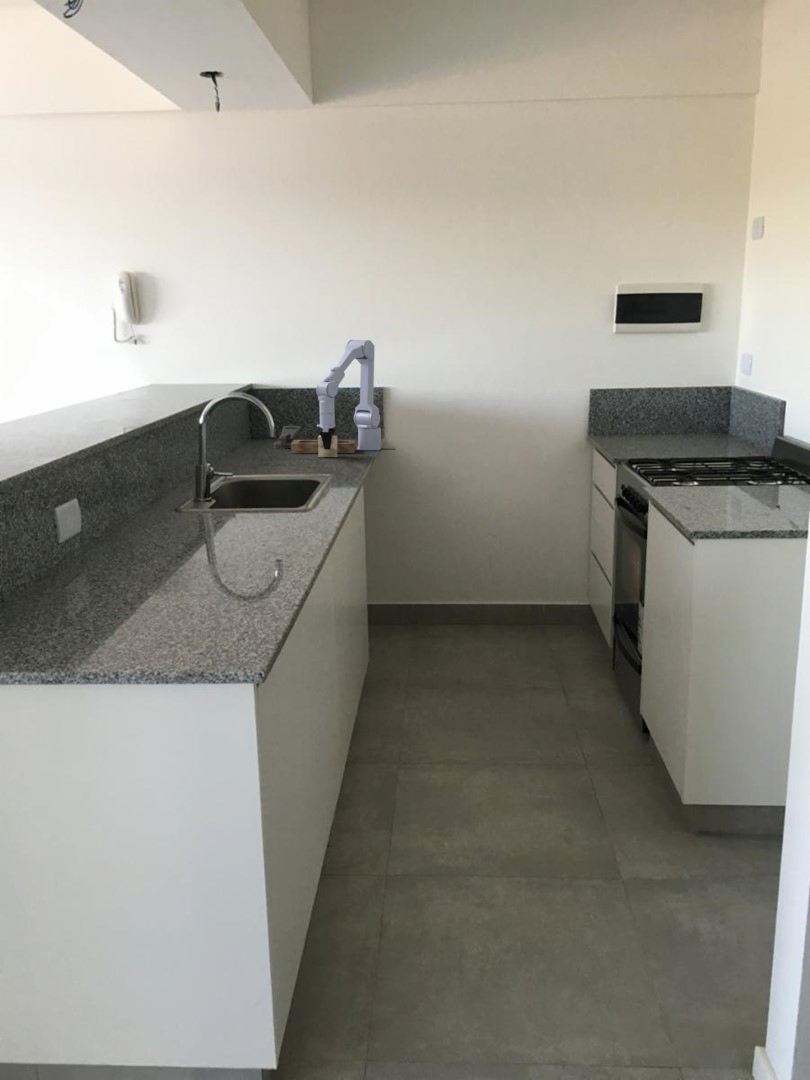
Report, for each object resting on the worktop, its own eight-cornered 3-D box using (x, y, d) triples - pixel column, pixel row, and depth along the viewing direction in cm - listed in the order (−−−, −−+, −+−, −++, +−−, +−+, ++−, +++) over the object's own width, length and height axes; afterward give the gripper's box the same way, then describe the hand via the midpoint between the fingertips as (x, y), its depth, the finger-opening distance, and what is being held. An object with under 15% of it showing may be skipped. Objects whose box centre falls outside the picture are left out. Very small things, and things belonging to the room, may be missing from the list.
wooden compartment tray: (355, 449, 371) (355, 440, 370) (354, 453, 361) (353, 443, 360) (294, 449, 371) (294, 439, 370) (291, 453, 362) (290, 443, 361)
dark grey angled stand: (302, 425, 396) (293, 433, 372) (303, 441, 398) (294, 449, 373) (282, 425, 396) (271, 433, 372) (282, 440, 398) (272, 449, 374)
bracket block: (337, 456, 356) (337, 435, 354) (336, 457, 352) (336, 436, 350) (319, 455, 356) (319, 435, 354) (318, 457, 352) (318, 436, 350)
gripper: (318, 411, 357) (319, 445, 360) (314, 415, 343) (315, 451, 346) (336, 411, 357) (337, 445, 360) (333, 415, 342) (333, 451, 346)
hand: (327, 448), depth 353 cm, fingers closed on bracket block, 4 cm apart
